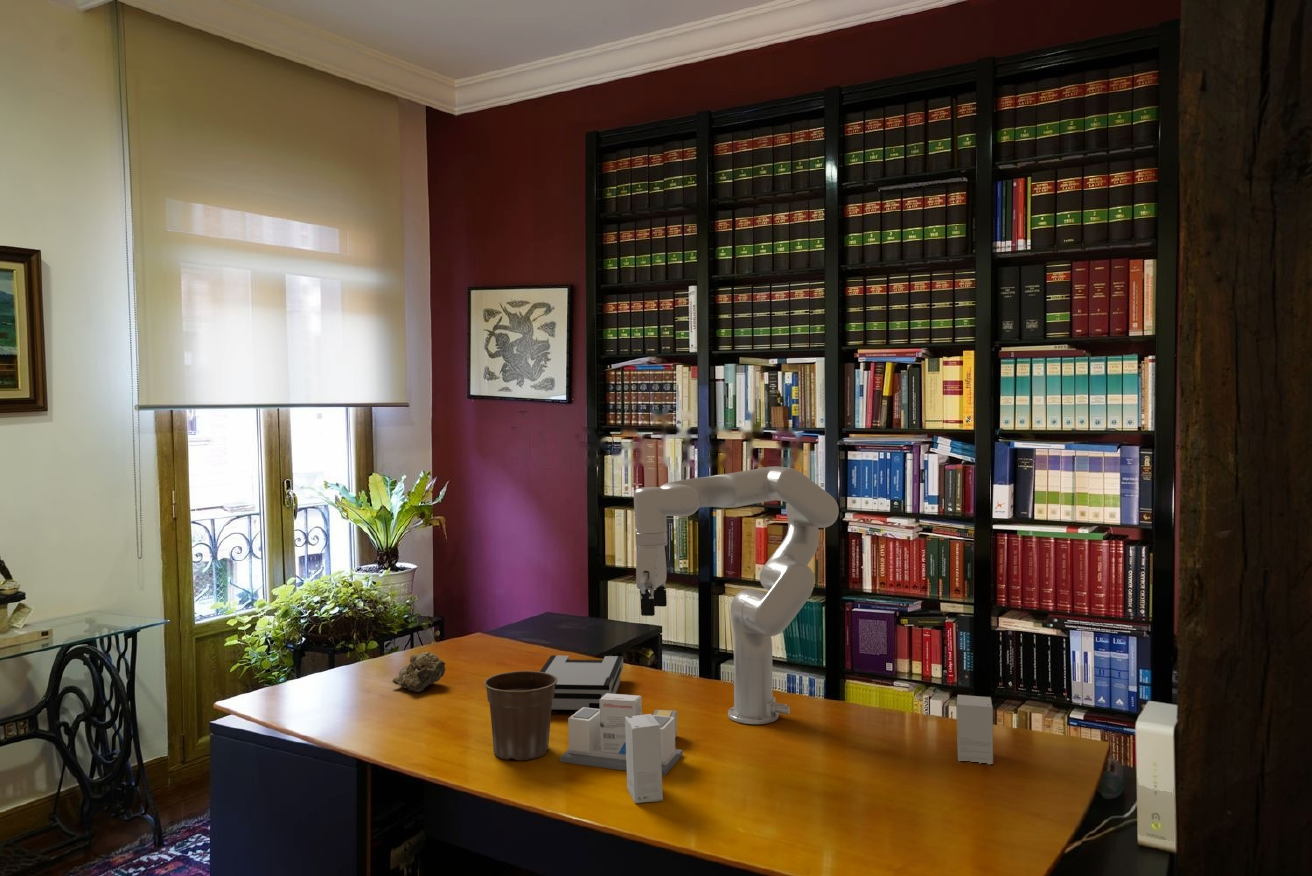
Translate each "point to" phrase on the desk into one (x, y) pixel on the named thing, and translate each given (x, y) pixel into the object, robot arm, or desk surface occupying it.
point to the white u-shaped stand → (588, 752)
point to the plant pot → (520, 713)
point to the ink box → (616, 720)
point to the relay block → (670, 714)
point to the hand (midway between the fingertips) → (654, 610)
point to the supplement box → (975, 729)
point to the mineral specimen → (420, 672)
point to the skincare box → (643, 758)
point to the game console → (583, 680)
